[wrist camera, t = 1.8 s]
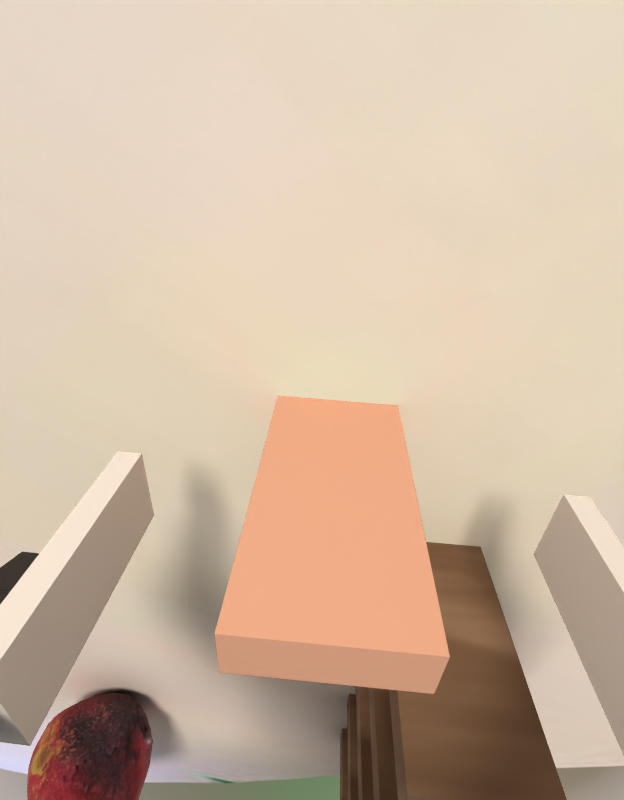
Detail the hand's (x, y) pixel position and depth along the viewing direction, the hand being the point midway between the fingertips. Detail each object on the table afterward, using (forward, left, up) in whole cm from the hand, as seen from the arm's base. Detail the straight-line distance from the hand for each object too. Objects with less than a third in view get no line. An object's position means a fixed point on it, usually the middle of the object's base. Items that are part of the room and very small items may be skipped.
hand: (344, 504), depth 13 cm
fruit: (-15, -28, -5) cm, 32 cm away
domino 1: (0, 0, -5) cm, 5 cm away
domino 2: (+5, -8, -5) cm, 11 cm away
